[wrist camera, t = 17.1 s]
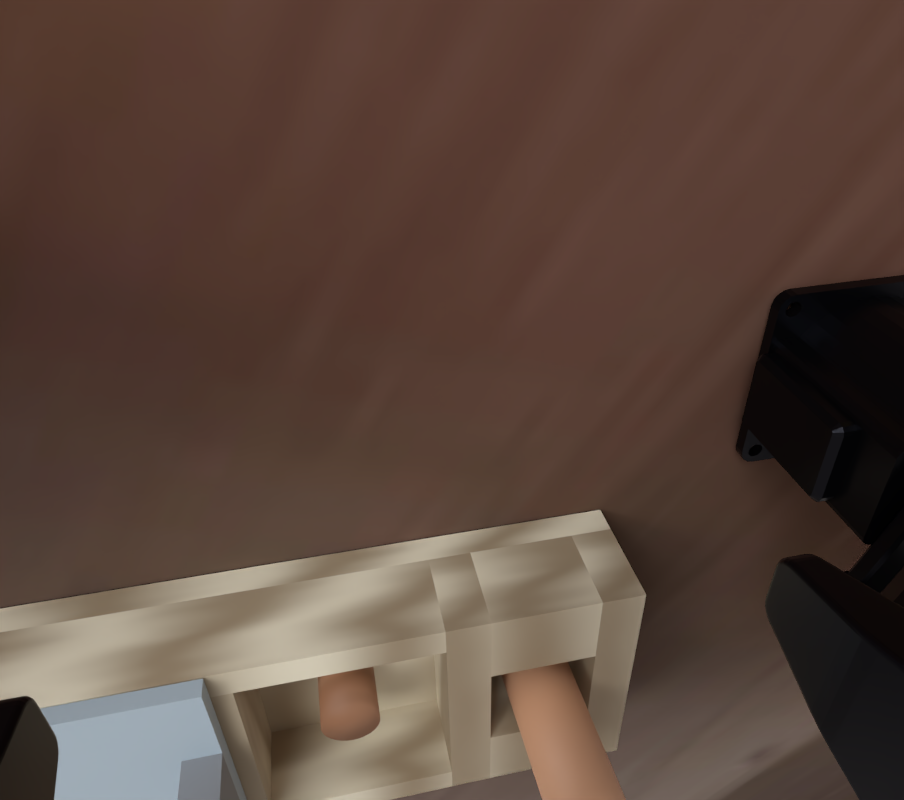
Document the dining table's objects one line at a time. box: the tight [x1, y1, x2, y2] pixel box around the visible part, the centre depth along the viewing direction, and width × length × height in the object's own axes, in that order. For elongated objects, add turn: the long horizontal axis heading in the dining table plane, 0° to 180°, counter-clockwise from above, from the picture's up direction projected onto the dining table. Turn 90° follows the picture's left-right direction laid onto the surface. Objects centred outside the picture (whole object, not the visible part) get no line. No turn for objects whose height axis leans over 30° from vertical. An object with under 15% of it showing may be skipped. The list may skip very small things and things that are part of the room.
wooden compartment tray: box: [0, 510, 646, 800], centre depth 26 cm, size 22×9×4 cm, turn 92°
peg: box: [501, 662, 626, 800], centre depth 25 cm, size 2×2×7 cm
